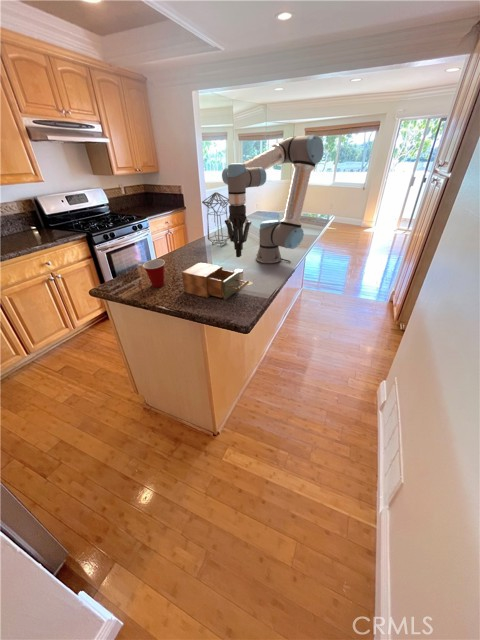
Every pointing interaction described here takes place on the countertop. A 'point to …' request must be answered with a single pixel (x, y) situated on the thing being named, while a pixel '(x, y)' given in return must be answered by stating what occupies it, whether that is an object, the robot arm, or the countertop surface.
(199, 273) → the cabinet
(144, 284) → the countertop surface
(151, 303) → the countertop surface
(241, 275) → the salt shaker
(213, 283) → the drawer
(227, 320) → the countertop surface
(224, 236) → the geometric lantern
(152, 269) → the plastic cup
